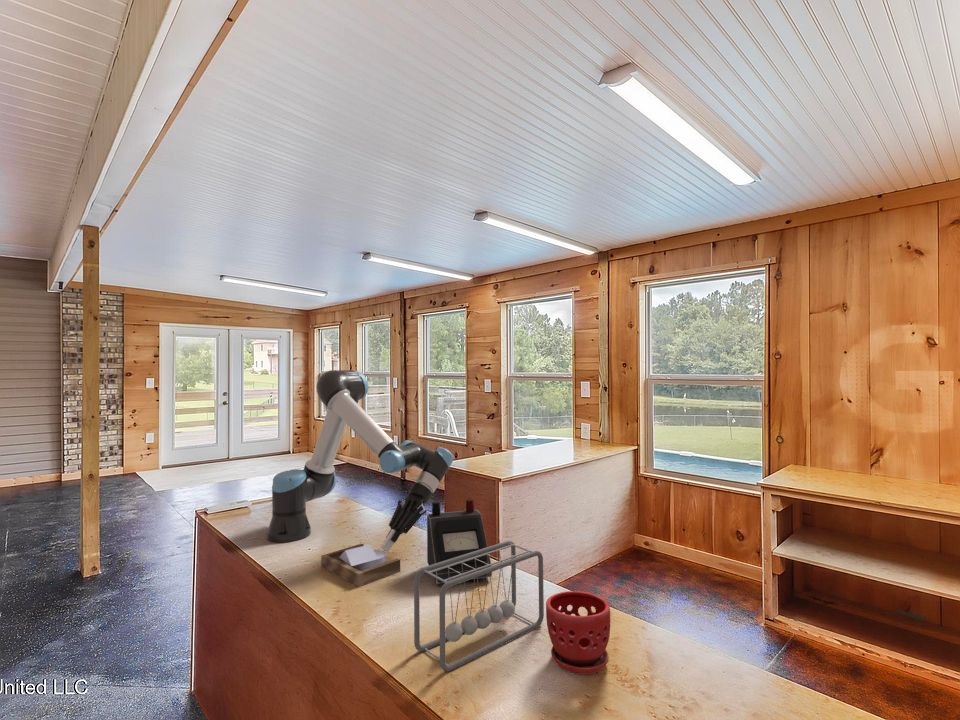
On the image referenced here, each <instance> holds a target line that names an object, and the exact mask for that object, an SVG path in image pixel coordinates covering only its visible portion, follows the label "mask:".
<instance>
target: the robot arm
mask: <svg viewBox="0 0 960 720" xmlns="http://www.w3.org/2000/svg"><path fill="white" fill-rule="evenodd" d="M368 391H369V381H368V380H367V377H366V375H364V374H363V373H362V372H360V371H358V370H353V369H347V370H341V369H339V370H338V369H337V370H336V369H331V370H328V371H325V372H323V373H322V374H321V375H320V377H319V378H318V380H317V382H316V393H317V396H318V398H319V400H320V401H321V402H322V404H323V405H324V406H325V407H326V408H327V411H326V413H325V417H324V420H323V422H322V423H323V424H322V426H321V430H320V432H319V435H318V438H317V440H316V444H315V446H314V450H313V453H312V454H311V459H308V460H307V461H306V462H305V464H304V467H303V469H299V468H295V469H290V470H285V471H281V472H279V473H277V474H275V476H274V477H273V479H272V485H271V491H272V492H271V493H272V494H271V495H272V496H271V499H272V501H271V502H272V503H271V504H272V505H271V506H272V514H271V515H272V517H271V519H270V523H269V526H268V527H267V528H268V529H267V532H266V538H267V540H268V541H270V542H273V543H274V542H275V543H287V542H288V543H289V542H295V541H299V540H303V539H305V538H307V537H309V536H310V535H311V531H312V530H311V524H310V522H309V519H308V516H307V512H306V511H307V509H306V508H307V505H306V504H307V502H311V501H313V500H316V499H320V498H322V497H325V496H327V495H329V494H331V492H332V491H333V490H334V489H335V487H336V486H337V485H336V484H337V476H336V472H335V471H336V470H335V469H336V468H335V466H334V462H335V460H336V456H337V453H338V450H339V447H340V444H341V441H342V439H343V436H344V432H345V429H346V426H348V427H349V428H350V429H351V430H352V431H353V432H354V434H355V435H357V436H358V437H359V439H361V441H363V443H364V444H365V445H366V446H367V447H368V448H369V449H370V450H371V451H372V452H373V453H374V455H376V456H377V458H378V459H379V460H378V462H379V467H380V469H381V470H382V471H383V472H384V473H386V474H395V473H399V472H401V471H403V470H407V469H409V468H412V467H416V468H418V469H421V472H420V474H419V475H418V477H417V478H416V480H415V482H414V483H413V484H412V485H411V487H410V489H409V493H408V494H409V495H408V496H407V497H406V498H405V499H404V500H398V501H397V506H396V507H395V510H394V513H393V515H392V517H391V519H390V520H389V523H388V526H389V527H390V530H389V532H388V534H387V535H386V537H385V539H384V541H383V542H382V544H381V545H380V548H381V549H382V551H384V552H385V553H389V552H390V550H391V549H392V547H393V545H394V544H395V543H396V542H397V540H398V539H399V538H400V536H401V535H403V534H404V535H406V534H408V533H409V531H410V530H411V529H412V528H413V527H414V525H415V524H416V523H417V522H418V521H419V519H421V517H422V516H423V515H425V514H426V513H427V510H426V508H425V504H427V503H428V502H429V501H430V499H432V496H433V494H435V493H434V492H435V491H436V490H437V488H438V486H439V485H440V484H441V481H442V480H443V478H444V477H445V476H446V474H447V472H448V471H449V470H450V468H451V466H452V463H453V462H454V455H453V454H452V452H451V451H450V450H448V449H447V448H444V447H441V446H439V447H437V448H436V449H435V450H432V449H430V448H428V447H425V446H423V445H421V444H418V442H415V441H412V440H409V439H407V440H404V441H403V442H402V443H401V444H400V445H398V444H397V443H396V442H395V441H394V439H392V438H391V437H390V435H388V434H387V433H386V432H385V430H384V429H383V428H382V427H381V426H380V425H379V424H378V423H377V422H376V421H375V420H374V419H373V418H372V417H371V416H370V415H369V414H368V413H367V412H366V411H365V409H363V407H361V406H360V405H359V402H360V400H362V399H363V398H365V397H366V396H367V394H368Z"/></svg>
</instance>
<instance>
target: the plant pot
mask: <svg viewBox="0 0 960 720" xmlns="http://www.w3.org/2000/svg"><path fill="white" fill-rule="evenodd" d="M569 606H571V607H572V608H571V609H570V610H569V609H568V607H569ZM592 607H593V608H594V609H595V611H593V609H592ZM580 608H584V609H585V610H586V611H587V614H586V615H580V613H579V610H580ZM545 615H546V618H545V619H546V625H547V632H548V635H549V639H550V641H551V645H552V647H551V650H550V654H551V658H552V659H553V662H554V663H555V664H556V665H557V666H558V667H559V668H561V669H563V670H564V671H566V672H569V673H573V674H577V675H590V674H594V673H595V672H596V673H597V672H599V671H601V670H602V669H604V668H605V667H606V665H607V664H608V662H609V658H610V657H609V653H608V651H607V646H608V644H609V640H610V634H611V607H610V603H608V601H607V600H606V599H605V598H603V597H601V596H599V595H597V594H594V593H591V592H586V591H577V590H572V591H571V590H570V591H569V590H568V591H562V592H558V593H554V594H552V595H550V597H548V598H547V600H546V602H545ZM596 673H595V674H596Z"/></svg>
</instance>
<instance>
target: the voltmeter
mask: <svg viewBox="0 0 960 720" xmlns="http://www.w3.org/2000/svg"><path fill="white" fill-rule="evenodd" d="M474 500H475V499H474V498H467V499H466V500H465V501H466V503H465V504H466V505H465V510H461V511H460V510H459V511H448V512H446V511H445V512H441V501H432V503H431V513H427V514H426V542H427V543H426V550H427V551H426V556H427V557H426V558H427V559H426V561H427V562H426V563H427V564H428V565H427V566H429V565H432V564H435V563H439V562H442V561H445V560H448V559H451V558H455V557H458V556H461V555H464V554H467V553H470V552H474V551H477V550H480V549H483V548H486V547H489V546H488V542H487V538H486V537H487V536H486V531H485V528H484V522H483V517H482V513H481V512H480V511H479V510H478V509H475V501H474ZM487 553H488V552H487ZM484 554H485V553H484ZM489 555H490V554H488V557H487V555H484V556H481V557H478V558H475V559H472V560H469V561H466V562H463V563H464V564H463V563H460V564H457V565H454V566H450V567H449V575H448V567H447V568H444V569H441V570H438V571H435V572H432V574H434V575H436V576H438V577H440V578H441V579H443V580H445V579H448V578H451V577H454V576H457V575H459V574H460V573H461V574H462V573H465V572H468V571H471V570H474V568H475V569H476V568H480V567H483V566H486V565H488V560H489V564H491V563H492V562H491V561H492V560H491V556H489ZM468 559H469V558H468ZM477 559H478V560H477ZM465 560H466V559H465ZM475 560H476V566H475ZM479 560H480V561H479ZM462 561H463V560H462ZM481 561H482V562H481ZM459 562H460V561H459ZM483 562H484V563H483ZM456 563H457V562H456ZM486 563H487V564H486ZM453 564H454V563H453ZM465 564H466V565H465ZM462 565H463V571H462ZM467 565H468V566H467ZM469 566H470V567H469ZM471 567H472V568H471ZM489 567H490V566H489ZM450 568H451V569H450ZM486 568H487V567H486ZM437 569H438V568H437ZM452 569H453V570H452ZM483 569H485V568H483ZM434 570H435V569H434ZM454 570H455V571H454ZM480 570H482V569H480ZM431 571H432V570H431ZM456 571H457V572H456ZM477 571H479V570H477ZM458 572H459V573H458ZM474 572H475V571H474ZM471 573H473V572H471ZM468 574H470V573H468ZM487 574H488V578H490V576H491V578H492V577H493V572H490V573H487ZM487 574H484V575H482V576H479V577H478V581H480V580H482V581H481V582H484V581H483V580H485V581H487ZM466 575H467V574H466ZM464 576H465V575H464ZM460 577H461V576H460ZM433 578H434V581H435V583H436V584H439V586H441V587H442V586H443V585H444V584H445V583H444V582H443V581H441V580H439V579H437V578H435V577H433ZM457 578H459V577H457ZM454 579H456V578H454ZM451 580H453V579H451ZM472 580H474V578H473V579H472ZM475 580H477V577H476V578H475ZM448 581H449V580H448ZM448 581H447V582H448Z"/></svg>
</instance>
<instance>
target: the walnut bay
mask: <svg viewBox="0 0 960 720" xmlns="http://www.w3.org/2000/svg"><path fill="white" fill-rule="evenodd" d="M361 546H365V545H364V544H363V543H359V544H356V545H352V546H348V547H345V548H342V549H340V550H336V551H333V552H329V553H326V554H323V555H321V556H320V559H321V560H320V565H321V566H320V567H321V568H322V569H324V570H326V571H328V572H330V573H331V574H334V575H336V576H338V577H340V578H341V579H343V580H346V581H347V582H349V583H350V584H352V585H355V586H357V587H362V586H365V585H368V584H369V583H373V582H375V581H378V580H381V579H384V578H386V577H389V576H391V575H394V574H397V573H399V572H401V559H400V558H394V559H392V560H388V561H386V562H385V563H382V564H380V565H377V566H374V567H371V568H368V569H365V570H362V571H360V570H358V569H357V568H356V567H353V566H350V565H349V564H348V563H346V562H345V561H343V560H342V559H341V558H339V557H340V556H341V555H342V553H343V552H344V551H345V550H349V549H353V548H357V547H361ZM344 562H345V563H344Z"/></svg>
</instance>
